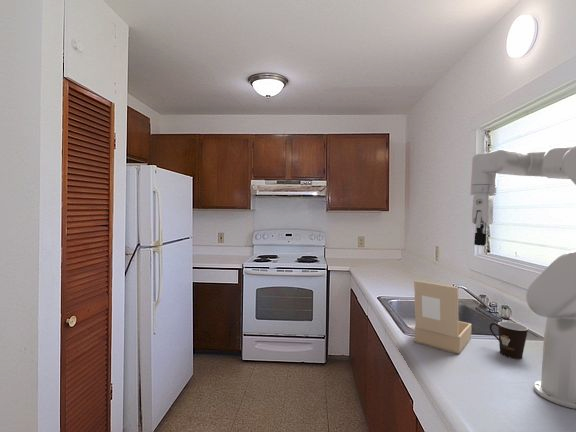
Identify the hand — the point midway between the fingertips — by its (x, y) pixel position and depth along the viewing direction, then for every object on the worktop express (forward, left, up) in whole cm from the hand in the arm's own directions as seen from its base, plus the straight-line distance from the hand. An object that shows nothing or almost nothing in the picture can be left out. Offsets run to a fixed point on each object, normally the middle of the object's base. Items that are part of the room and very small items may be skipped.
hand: (480, 245), depth 117 cm
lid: (+11, +7, -22) cm, 26 cm away
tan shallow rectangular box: (+11, -4, -37) cm, 39 cm away
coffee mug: (-9, -9, -37) cm, 39 cm away
